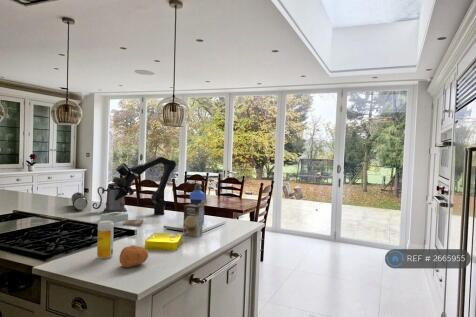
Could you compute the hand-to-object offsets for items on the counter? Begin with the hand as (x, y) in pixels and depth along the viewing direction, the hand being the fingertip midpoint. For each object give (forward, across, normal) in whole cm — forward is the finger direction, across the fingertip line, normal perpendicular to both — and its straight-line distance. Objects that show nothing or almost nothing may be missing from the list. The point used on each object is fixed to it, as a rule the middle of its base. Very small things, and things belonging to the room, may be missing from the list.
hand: (113, 199), depth 203 cm
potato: (+42, +70, -23) cm, 85 cm away
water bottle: (-10, +45, +29) cm, 54 cm away
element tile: (+23, +61, -4) cm, 66 cm away
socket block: (+8, 0, +10) cm, 13 cm away
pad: (+8, +16, +11) cm, 21 cm away
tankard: (-4, -26, +23) cm, 35 cm away
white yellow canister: (+42, +54, -23) cm, 72 cm away
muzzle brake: (+1, -54, +18) cm, 57 cm away
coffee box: (+6, +60, +13) cm, 62 cm away
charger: (+3, 0, +5) cm, 6 cm away
